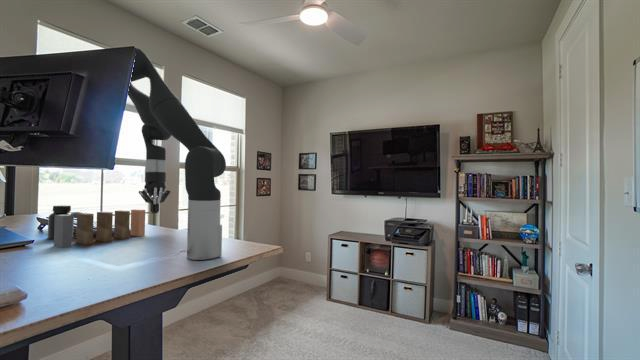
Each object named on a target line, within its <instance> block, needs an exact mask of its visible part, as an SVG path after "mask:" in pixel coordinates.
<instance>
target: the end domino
mask: <svg viewBox="0 0 640 360" xmlns="http://www.w3.org/2000/svg"><path fill="white" fill-rule="evenodd" d="M72 239H73V237H72V215H55V223H54V240H53V247H56V248H60V249H65V248H71V247H72Z"/></svg>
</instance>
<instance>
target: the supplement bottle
mask: <svg viewBox="0 0 640 360" xmlns="http://www.w3.org/2000/svg"><path fill="white" fill-rule="evenodd" d="M71 211H72V205H53V206H52V213H51V214H49V216H48V220H47V240H51V241H54V223H55V215H72V238H74V226H75V225H74V222H75V215H74V214H73V213H71Z"/></svg>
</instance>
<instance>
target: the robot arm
mask: <svg viewBox="0 0 640 360" xmlns="http://www.w3.org/2000/svg"><path fill="white" fill-rule="evenodd" d="M135 48H136V56H135V62H134V67H133V72H132V77H131V82H130V86H129V91H128V95H127V96H128V97H129V99H130V101H131V102H132V104H133V106H134V107H135V109H136V111H137V114H138V116H139V118H140V120H141V121H142V123H143V125H142V127H141V134H142V138H143V141H144V144H145V150H146V151H145V154H146V155H145V164H144V165H145V167H144V182H145V184H144V187H143V189H141V190H139V191H138V194H139V196H141V198H142V199H143V201H144V203H148V204H150V213H151V214H158V213H159V211H160V204H162V203H164V202H165V201H166V199H167V198H168V197H169V195H170V194H171V190H170V189H169V190H168V189H167V188H166V181H167V180H166V179H167V178H166V177H167V163H166V162H167V161H166V157H167V156H166V155H167V153H166V152H167V150H166V147H164V146H163V145H158V144H155V143H154V141H168V140H169V139H170V138H171V137H172V138H174V139H176V141H178V142H179V143H181V144H182V145H183V146H184V147H185V148H186V149H187V150H188V152H187V154H186V157H185V159H184V181H185V182H184V183H185V190H186V194H187V236H186V237H187V238H186V239H187V240H186V244H187V245H186V258H187V259H189V260H194V261H195V260H196V261H199V260H201V261H203V260H211V259H216V258H218V257H222V255H223V254H222V250H223V249H222V246H223V245H222V244H223V243H222V242H223V225H222V224H221V204H222V203H221V201H222V200H221V199H222V198H221V197H222V196H221V190H220V189H218V188H217V187H216V184H215V178H218V177H220V176H222V175H223V174H224V173H225V171H226V167H227V166H226V165H227V163H226V158H225V156H224V154H223V153H222V152H221V151H220V150H219V149H218V148H217V146H216V145H215V144H213V142H211V141H210V139H209V138H208V137H207V136H206V135H205V133H203V131H202V129H201V127H199V125H198V124H197V123H196V121H195V120H194V118H193V117H192V116H191V115H190V113H189V111H188V110H187V109H186V107H185V106H184V105H183V103H182V102H181V101H180V100H179V98H178V97H177V96H176V94H174V92H173V91H172V89H171V88H170V87H169V86H168V84H167V83H166V82H165V81H164V79H163V77H162V76H161V75H160V73H159V71H158V70H157V68H156V66H155V65H154V63H153V62H152V60H151V59H150V58H149V56H148V55H147V54H146V53H145V52H144V51H143V50H142V49H141V48H140V47H135ZM145 78H147V79H148V80H149V86H150V90H149V95H148V94H146V93H144V92H143V91H141V90H140V89H138V88H136V86H135V85H134V84H133V82H136V81H139V80H142V79H145Z"/></svg>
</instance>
